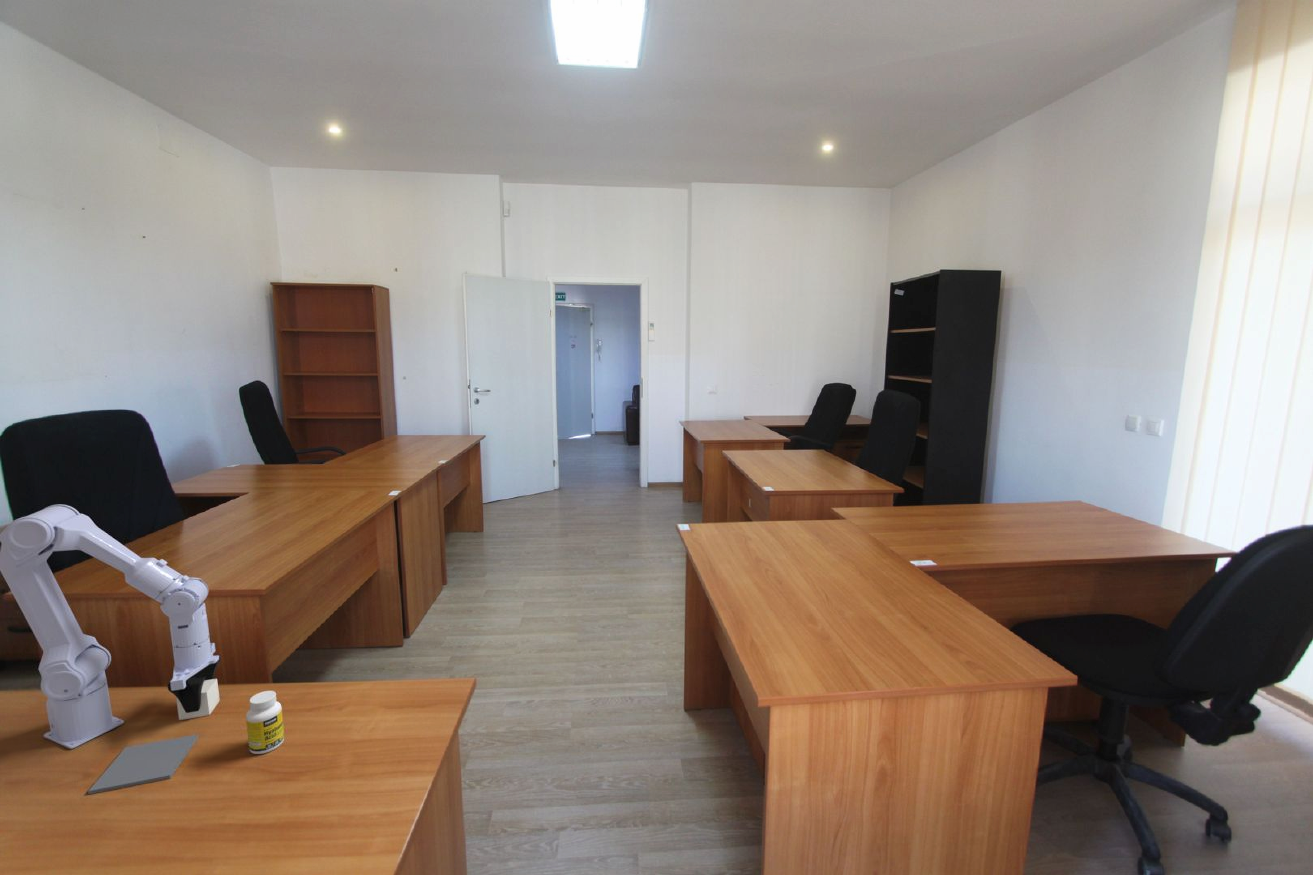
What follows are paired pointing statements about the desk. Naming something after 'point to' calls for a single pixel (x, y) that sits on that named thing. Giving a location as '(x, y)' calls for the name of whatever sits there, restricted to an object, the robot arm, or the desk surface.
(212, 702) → the cube
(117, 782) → the mat
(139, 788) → the desk surface
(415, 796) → the desk surface
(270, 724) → the supplement bottle
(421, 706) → the desk surface
